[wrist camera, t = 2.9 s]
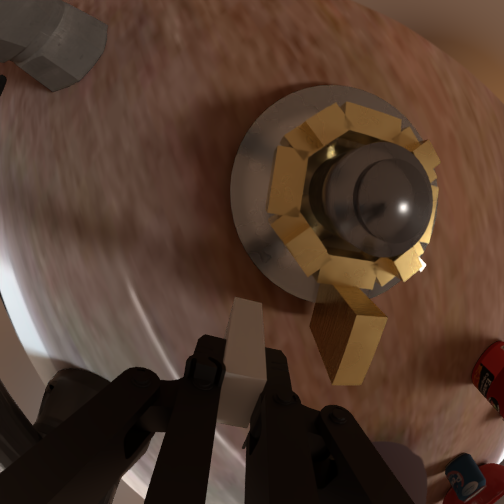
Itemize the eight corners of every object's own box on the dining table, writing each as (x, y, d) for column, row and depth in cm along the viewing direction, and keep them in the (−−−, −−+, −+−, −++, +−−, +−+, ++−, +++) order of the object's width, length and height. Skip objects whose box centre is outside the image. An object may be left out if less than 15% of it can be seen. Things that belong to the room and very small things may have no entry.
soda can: (444, 464, 33) (464, 500, 21) (469, 446, 32) (491, 480, 21) (441, 474, 34) (459, 507, 23) (466, 458, 34) (485, 489, 22)
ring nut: (247, 319, 22) (245, 379, 15) (281, 100, 18) (297, 56, 11) (382, 331, 23) (422, 380, 15) (423, 141, 19) (484, 130, 11)
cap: (217, 284, 23) (199, 340, 14) (250, 71, 19) (249, 11, 10) (405, 307, 24) (457, 353, 15) (438, 125, 20) (502, 110, 11)
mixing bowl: (507, 450, 38) (526, 475, 23) (444, 503, 43) (457, 530, 28) (493, 442, 34) (518, 477, 19) (411, 507, 39) (425, 543, 24)
